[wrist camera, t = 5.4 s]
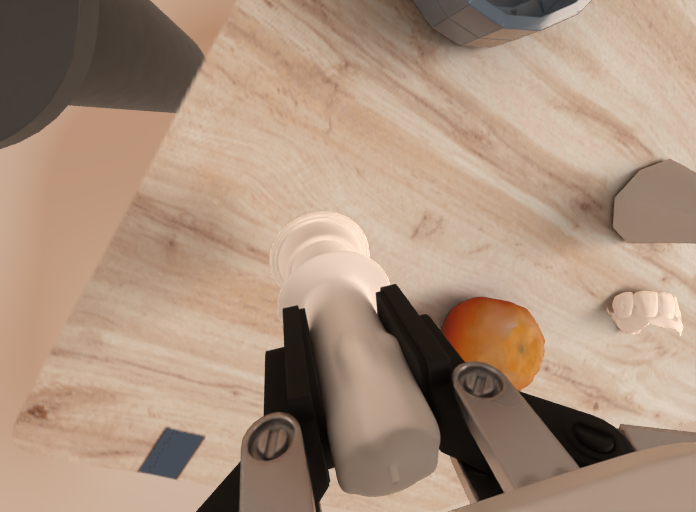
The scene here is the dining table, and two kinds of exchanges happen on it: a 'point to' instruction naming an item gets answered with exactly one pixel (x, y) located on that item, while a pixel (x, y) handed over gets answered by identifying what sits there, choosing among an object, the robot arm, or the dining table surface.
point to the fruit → (497, 337)
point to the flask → (658, 205)
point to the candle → (355, 356)
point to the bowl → (495, 18)
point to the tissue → (645, 311)
